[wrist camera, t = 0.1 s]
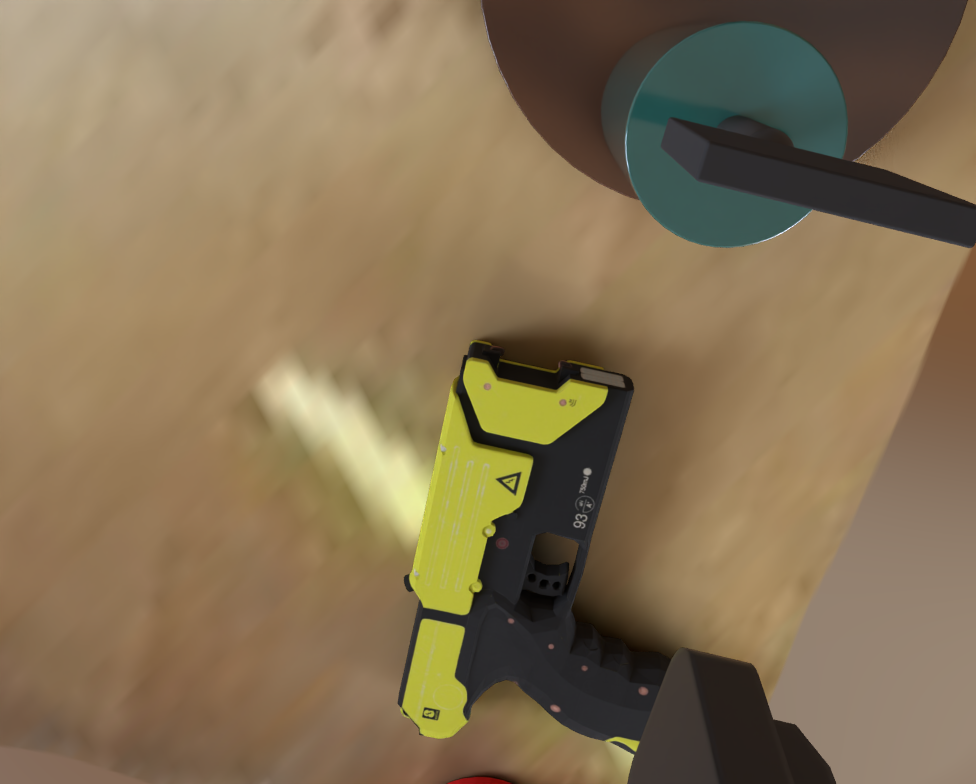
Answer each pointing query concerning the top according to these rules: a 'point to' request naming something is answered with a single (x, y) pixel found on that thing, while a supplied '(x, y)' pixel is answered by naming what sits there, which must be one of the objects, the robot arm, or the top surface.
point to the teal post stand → (734, 106)
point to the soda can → (479, 781)
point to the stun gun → (520, 553)
